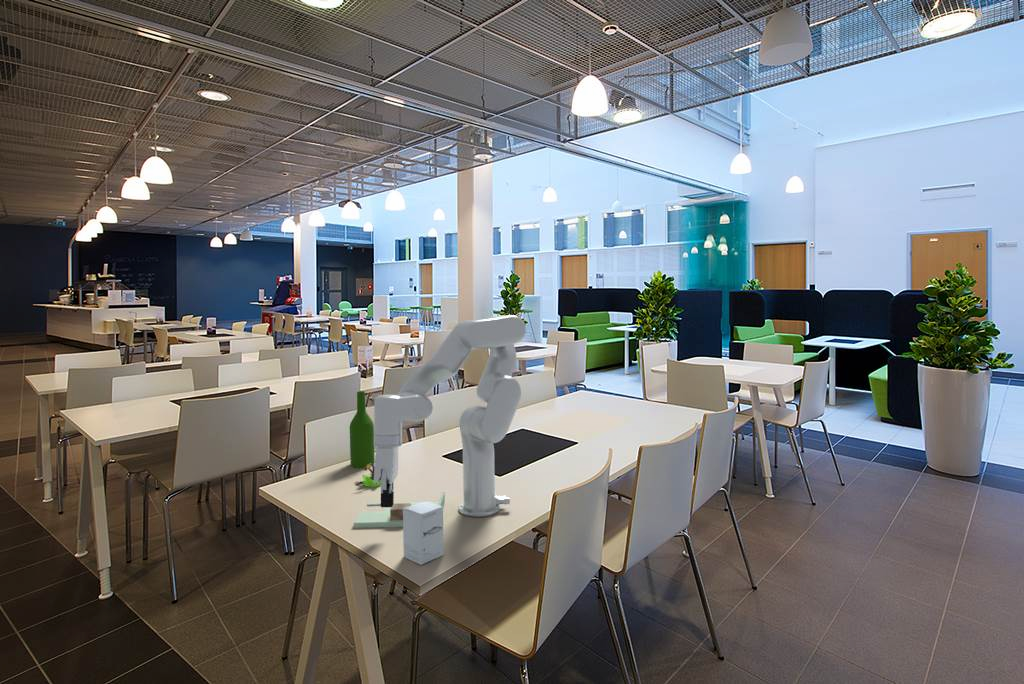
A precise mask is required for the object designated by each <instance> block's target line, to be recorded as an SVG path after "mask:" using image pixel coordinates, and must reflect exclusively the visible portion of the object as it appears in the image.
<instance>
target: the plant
mask: <svg viewBox="0 0 1024 684" xmlns="http://www.w3.org/2000/svg"><path fill="white" fill-rule="evenodd" d="M371 465H372V466H371ZM362 469H363V471H364V472H366V471H370V473H369V474H368V475H369V476H368V475H365V474H362V479H360V481H355V482H354V484H355V487H361V484H364V486H365V487H371V488H372V487H374V488H377V487H380V486H381V480H380V481H379V482H378V483H377V484H375V483H374V470H375V464H373V463H369V464H368V465H367V467H364V468H362Z"/></svg>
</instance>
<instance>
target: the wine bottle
mask: <svg viewBox="0 0 1024 684" xmlns="http://www.w3.org/2000/svg"><path fill="white" fill-rule="evenodd" d="M349 450H350V451H349V452H350V454H349V455H350V456H349V457H350V460H349V461H350V467H351V468H354V469H363V468H364V467H367V465H368V464H369V463H373V464H374V463H375V455H376V454H375V446H374V420H372V418H371V416H370V415H369V414H368V412H367V408H366V391H363V390H362V391H360V390H359V391H357V392H356V413H355V414H354V417H353V419H352V420H351V422H350V424H349ZM374 465H375V464H374ZM371 467H372V465H371Z"/></svg>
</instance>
